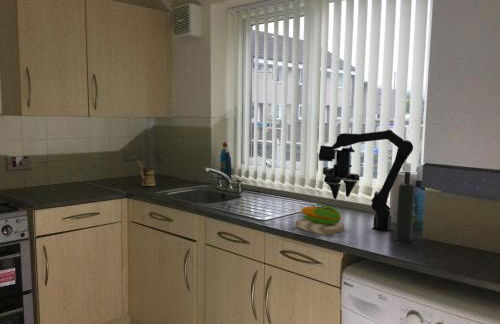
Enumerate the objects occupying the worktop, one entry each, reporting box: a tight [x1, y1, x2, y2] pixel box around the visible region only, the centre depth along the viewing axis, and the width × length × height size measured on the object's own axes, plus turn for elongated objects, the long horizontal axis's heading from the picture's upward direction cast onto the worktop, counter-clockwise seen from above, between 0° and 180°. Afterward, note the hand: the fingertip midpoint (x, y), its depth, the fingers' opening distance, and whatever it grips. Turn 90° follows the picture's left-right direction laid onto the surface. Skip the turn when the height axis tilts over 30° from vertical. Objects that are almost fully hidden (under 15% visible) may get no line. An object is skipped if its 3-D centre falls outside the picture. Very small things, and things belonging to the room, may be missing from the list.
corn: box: [300, 203, 342, 225], centre depth 183 cm, size 7×8×20 cm
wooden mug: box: [136, 159, 157, 187], centre depth 283 cm, size 9×14×18 cm, turn 141°
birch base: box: [294, 218, 345, 236], centre depth 184 cm, size 16×12×3 cm
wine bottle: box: [395, 162, 415, 243], centre depth 169 cm, size 6×6×30 cm
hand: (341, 197), depth 191 cm, fingers open, 9 cm apart
